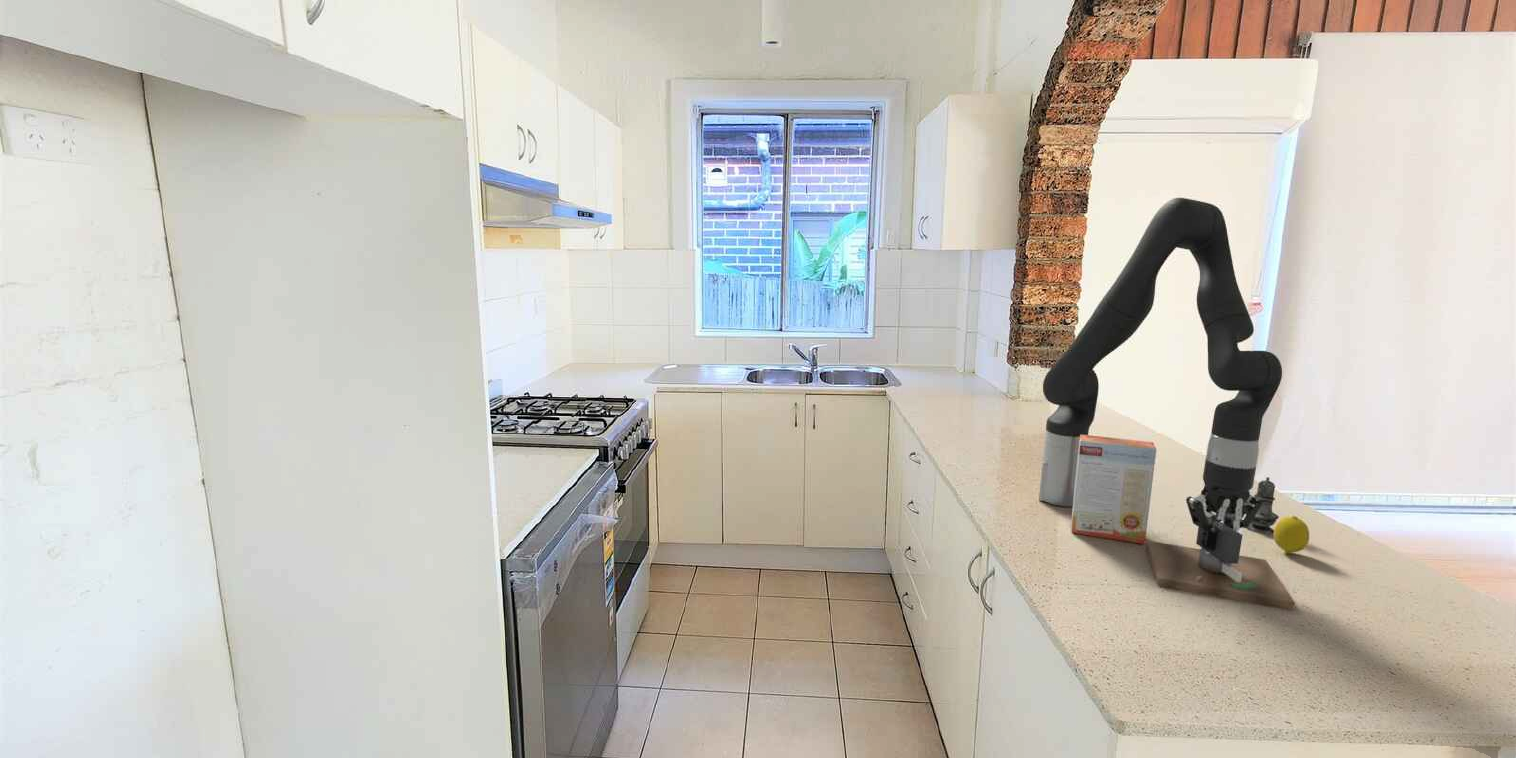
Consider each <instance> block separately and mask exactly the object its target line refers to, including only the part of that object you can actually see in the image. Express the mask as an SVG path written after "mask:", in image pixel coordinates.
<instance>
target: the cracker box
mask: <svg viewBox="0 0 1516 758" xmlns="http://www.w3.org/2000/svg"><path fill="white" fill-rule="evenodd" d="M1156 456H1157V447H1156V445H1155V443H1154V442H1153V441H1149V440H1148V441H1147V440H1136V439H1127V438H1118V437H1109V436H1099V435H1090V434H1088V435H1080V441H1079V451H1078V460H1077V470H1076V480H1075V490H1074V500H1073V506H1072V511H1071V512H1072V513H1071V525H1070V527H1071V530H1070V531H1071V533H1073V534H1078V535H1085V536H1091V537H1098V538H1103V539H1110V540H1116V541H1123V542H1129V543H1134V544H1140V545H1145V544H1146V537H1147V529H1148V520H1149V512H1150V507H1151V506H1150V503H1151V497H1152V489H1153V480H1154V471H1155V465H1156V463H1155V462H1156Z"/></svg>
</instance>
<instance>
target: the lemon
mask: <svg viewBox="0 0 1516 758" xmlns="http://www.w3.org/2000/svg"><path fill="white" fill-rule="evenodd" d="M1273 530H1274V533H1273V540H1274V542H1275V544H1276V545H1277V546H1278V547H1279V548H1280V549H1281V550H1283V551H1284V553H1286V554H1287V555H1289V554H1292V553H1298V552H1301V551H1303V550H1304V549H1305V548H1306V547H1307V546H1308V544H1309V542H1310V541H1309V540H1310V531H1309V530H1310V529H1309V527H1308V525H1307V523H1305V522H1304V521H1303V520H1302V519H1300V518H1298V517H1297V516H1295V515H1292V516H1287V517H1284V518H1281V519H1280V520H1278V522H1276V525H1275V527H1274V529H1273Z"/></svg>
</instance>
